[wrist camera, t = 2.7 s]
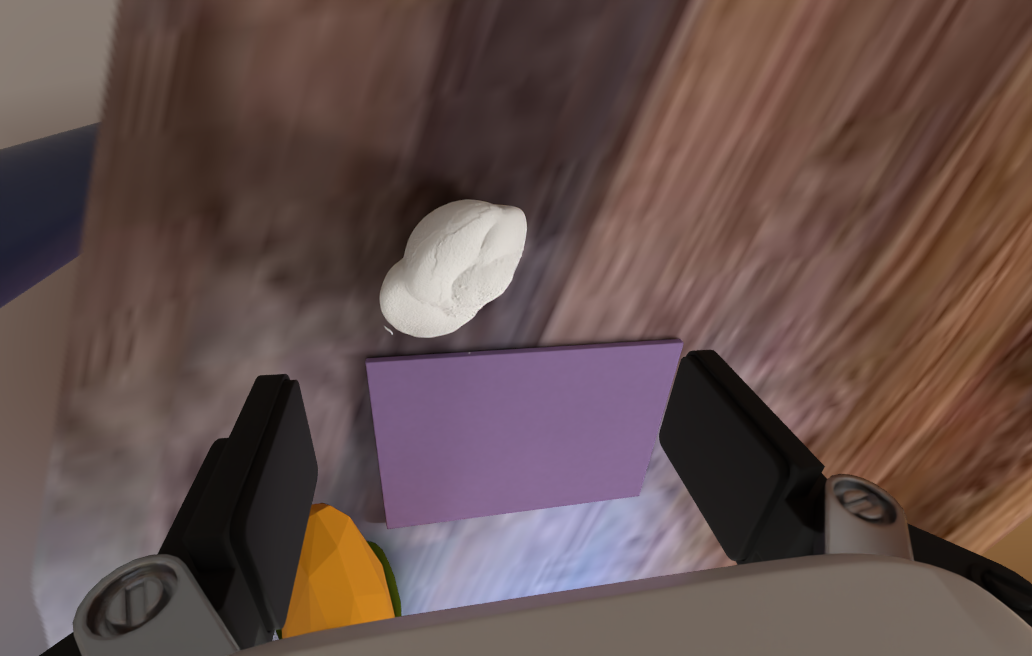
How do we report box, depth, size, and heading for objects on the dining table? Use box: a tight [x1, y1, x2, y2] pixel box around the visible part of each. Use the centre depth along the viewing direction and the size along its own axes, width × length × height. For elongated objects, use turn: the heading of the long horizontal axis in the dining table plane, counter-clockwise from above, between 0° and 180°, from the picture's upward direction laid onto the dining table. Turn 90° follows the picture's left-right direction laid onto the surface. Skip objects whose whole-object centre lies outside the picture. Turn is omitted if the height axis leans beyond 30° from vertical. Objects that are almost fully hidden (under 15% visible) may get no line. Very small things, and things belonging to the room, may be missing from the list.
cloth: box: [366, 339, 683, 529], centre depth 26 cm, size 16×12×1 cm
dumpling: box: [380, 199, 527, 354], centre depth 18 cm, size 7×5×4 cm
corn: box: [276, 503, 401, 639], centre depth 26 cm, size 7×8×20 cm
